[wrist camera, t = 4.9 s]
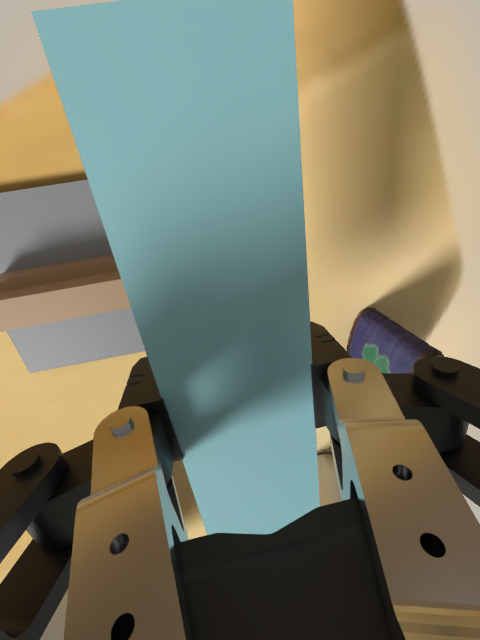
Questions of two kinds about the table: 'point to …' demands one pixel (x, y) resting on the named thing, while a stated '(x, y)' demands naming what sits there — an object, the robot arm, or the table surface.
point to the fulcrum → (61, 279)
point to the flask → (386, 343)
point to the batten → (205, 230)
